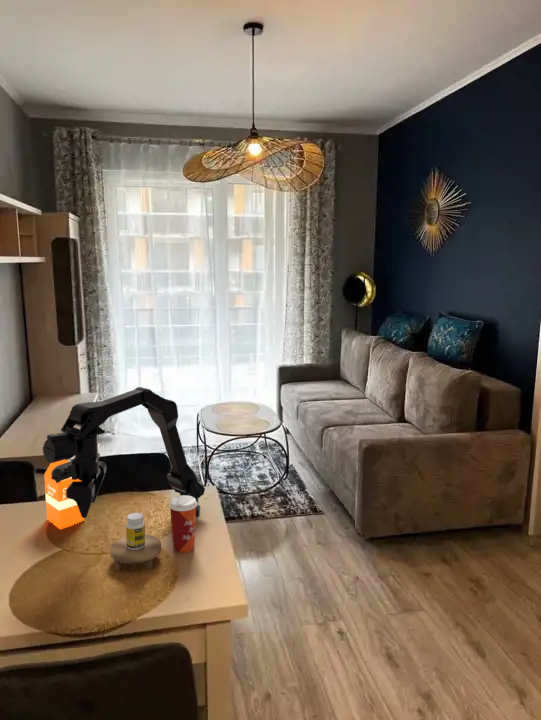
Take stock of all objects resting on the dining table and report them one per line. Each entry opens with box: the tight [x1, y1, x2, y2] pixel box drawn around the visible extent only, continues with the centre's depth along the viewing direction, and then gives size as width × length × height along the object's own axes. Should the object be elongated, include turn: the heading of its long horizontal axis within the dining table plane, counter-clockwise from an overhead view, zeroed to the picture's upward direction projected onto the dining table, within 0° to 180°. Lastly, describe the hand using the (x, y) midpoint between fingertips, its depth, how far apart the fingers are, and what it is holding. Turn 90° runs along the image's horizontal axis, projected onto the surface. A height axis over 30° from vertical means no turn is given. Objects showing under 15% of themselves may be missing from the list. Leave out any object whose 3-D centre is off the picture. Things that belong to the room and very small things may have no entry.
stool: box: [109, 533, 162, 571], centre depth 146 cm, size 13×13×4 cm
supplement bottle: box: [125, 512, 146, 550], centre depth 145 cm, size 5×5×8 cm
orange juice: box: [43, 459, 85, 530], centre depth 166 cm, size 8×9×20 cm
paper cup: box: [168, 495, 197, 554], centre depth 151 cm, size 8×8×14 cm
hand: (88, 509), depth 145 cm, fingers open, 9 cm apart
